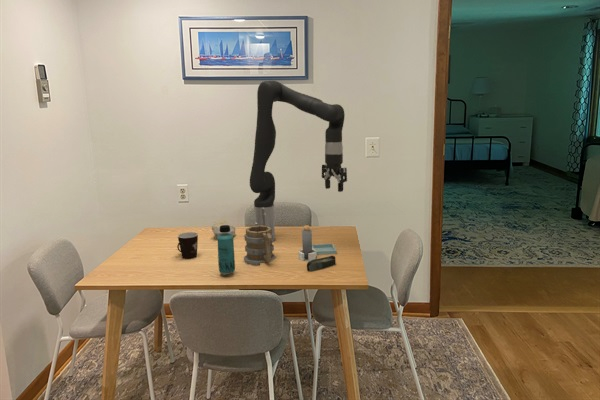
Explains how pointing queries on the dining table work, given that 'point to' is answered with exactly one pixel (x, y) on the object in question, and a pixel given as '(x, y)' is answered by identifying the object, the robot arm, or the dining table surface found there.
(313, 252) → the round holder stand
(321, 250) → the tray
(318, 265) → the mobile phone
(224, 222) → the fossil replica
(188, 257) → the coffee mug
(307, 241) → the grey tan rounded cylinder
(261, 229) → the tankard
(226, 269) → the beverage bottle
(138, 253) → the dining table surface
